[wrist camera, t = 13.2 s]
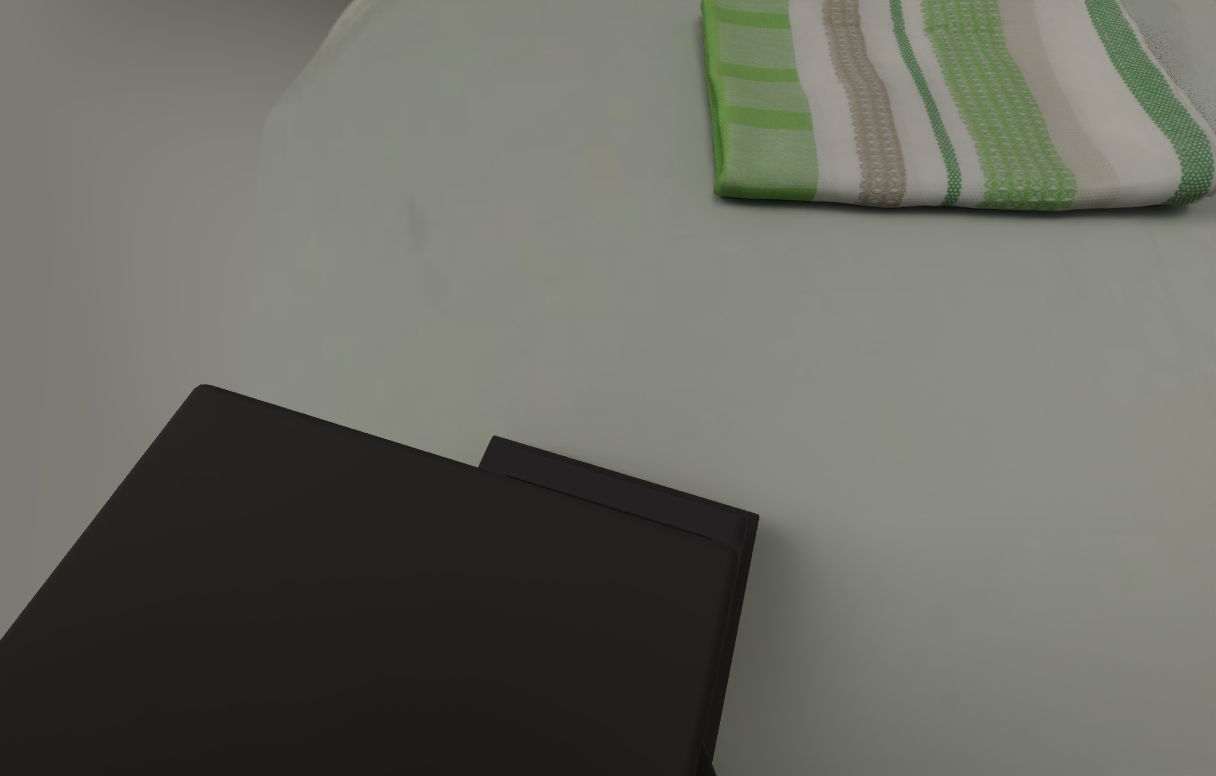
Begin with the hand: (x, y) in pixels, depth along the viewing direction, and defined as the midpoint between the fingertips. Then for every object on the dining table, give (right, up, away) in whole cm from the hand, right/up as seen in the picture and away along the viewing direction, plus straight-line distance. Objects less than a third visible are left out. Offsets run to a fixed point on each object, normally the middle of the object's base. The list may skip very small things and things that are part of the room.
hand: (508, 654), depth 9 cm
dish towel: (+18, +19, +23) cm, 35 cm away
